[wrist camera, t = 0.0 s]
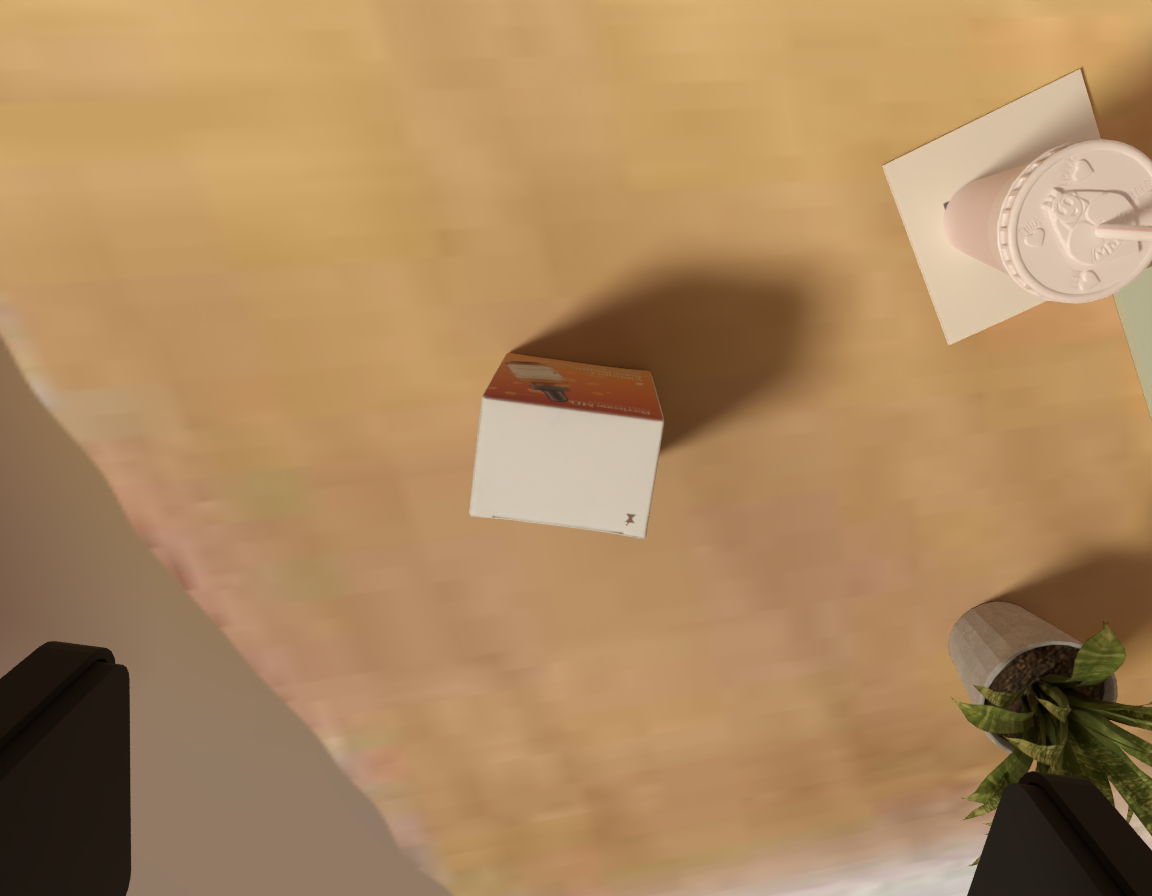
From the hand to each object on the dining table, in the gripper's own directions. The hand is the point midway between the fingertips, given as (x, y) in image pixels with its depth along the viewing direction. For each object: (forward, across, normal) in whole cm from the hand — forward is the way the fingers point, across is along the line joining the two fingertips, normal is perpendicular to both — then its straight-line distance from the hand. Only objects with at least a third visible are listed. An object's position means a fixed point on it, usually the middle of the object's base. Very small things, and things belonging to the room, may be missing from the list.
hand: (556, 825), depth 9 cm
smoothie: (+37, -19, -8) cm, 43 cm away
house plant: (+38, -26, +14) cm, 48 cm away
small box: (+38, 0, +5) cm, 38 cm away
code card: (+37, -21, -9) cm, 44 cm away
